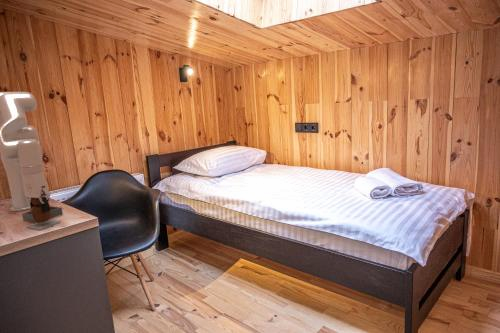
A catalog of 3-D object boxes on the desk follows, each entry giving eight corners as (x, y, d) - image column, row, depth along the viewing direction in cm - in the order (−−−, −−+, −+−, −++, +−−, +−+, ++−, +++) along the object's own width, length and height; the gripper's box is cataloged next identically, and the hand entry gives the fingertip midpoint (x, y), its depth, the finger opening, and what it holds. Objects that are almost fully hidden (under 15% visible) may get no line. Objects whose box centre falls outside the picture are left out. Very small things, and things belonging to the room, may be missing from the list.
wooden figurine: (32, 225, 134) (25, 190, 131) (35, 220, 139) (28, 187, 137) (51, 221, 137) (44, 187, 134) (53, 217, 142) (46, 184, 139)
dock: (23, 220, 147) (21, 212, 146) (48, 212, 157) (47, 204, 157) (37, 223, 142) (35, 214, 142) (62, 214, 153) (61, 206, 152)
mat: (26, 228, 136) (26, 227, 136) (48, 221, 144) (47, 219, 144) (39, 230, 132) (39, 229, 132) (60, 222, 140) (60, 221, 140)
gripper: (11, 171, 134) (19, 212, 138) (35, 172, 127) (44, 216, 130) (29, 167, 141) (37, 206, 144) (54, 168, 133) (62, 210, 137)
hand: (40, 210), depth 137 cm, fingers closed on wooden figurine, 6 cm apart
